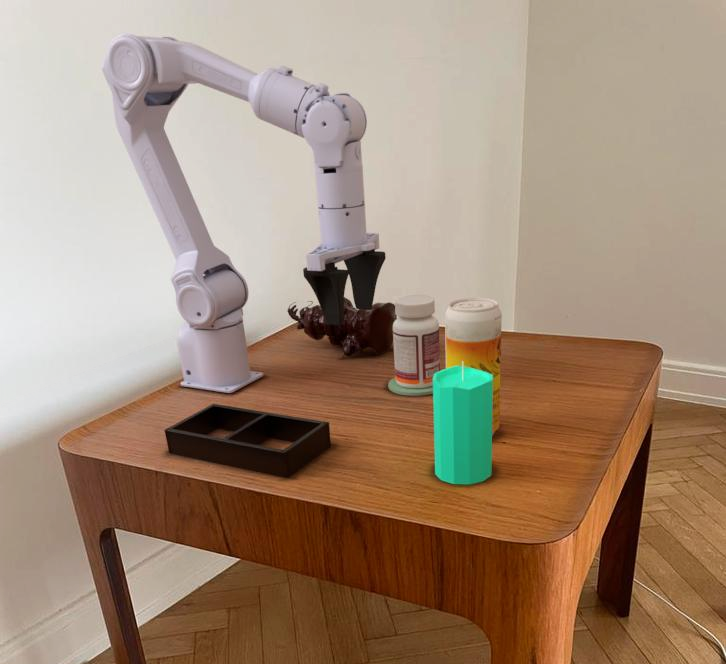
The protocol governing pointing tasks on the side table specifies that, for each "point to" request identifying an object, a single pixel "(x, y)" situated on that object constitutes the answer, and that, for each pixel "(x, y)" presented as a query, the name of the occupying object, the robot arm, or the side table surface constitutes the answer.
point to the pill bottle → (416, 341)
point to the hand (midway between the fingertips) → (349, 316)
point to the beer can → (476, 341)
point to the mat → (408, 389)
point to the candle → (463, 424)
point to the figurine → (351, 327)
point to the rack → (249, 439)
